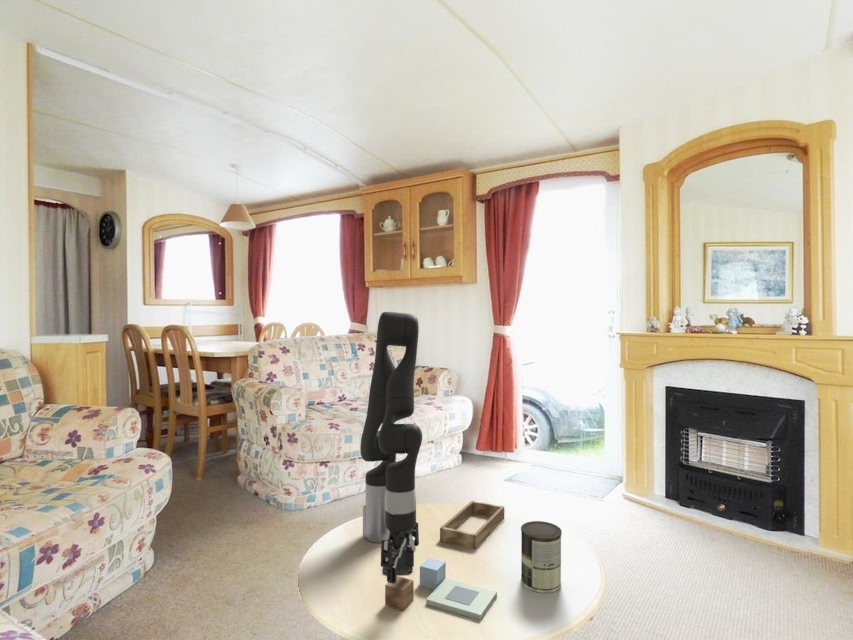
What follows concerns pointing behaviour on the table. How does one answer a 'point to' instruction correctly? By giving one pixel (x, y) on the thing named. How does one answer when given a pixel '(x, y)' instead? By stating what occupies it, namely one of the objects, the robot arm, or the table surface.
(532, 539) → the coffee can
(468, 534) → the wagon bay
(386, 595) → the walnut block
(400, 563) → the phone
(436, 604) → the plate
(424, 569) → the blue block
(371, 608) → the table surface
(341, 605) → the table surface
